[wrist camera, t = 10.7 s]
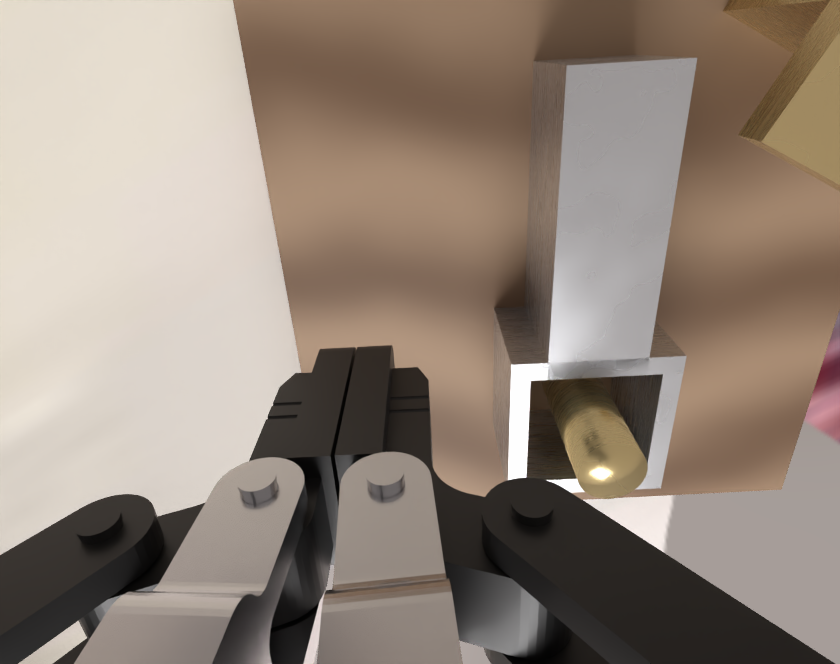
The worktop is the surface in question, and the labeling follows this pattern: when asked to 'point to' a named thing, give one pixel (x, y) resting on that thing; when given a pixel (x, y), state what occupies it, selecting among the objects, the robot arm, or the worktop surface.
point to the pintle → (595, 437)
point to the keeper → (799, 84)
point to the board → (508, 212)
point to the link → (595, 257)
